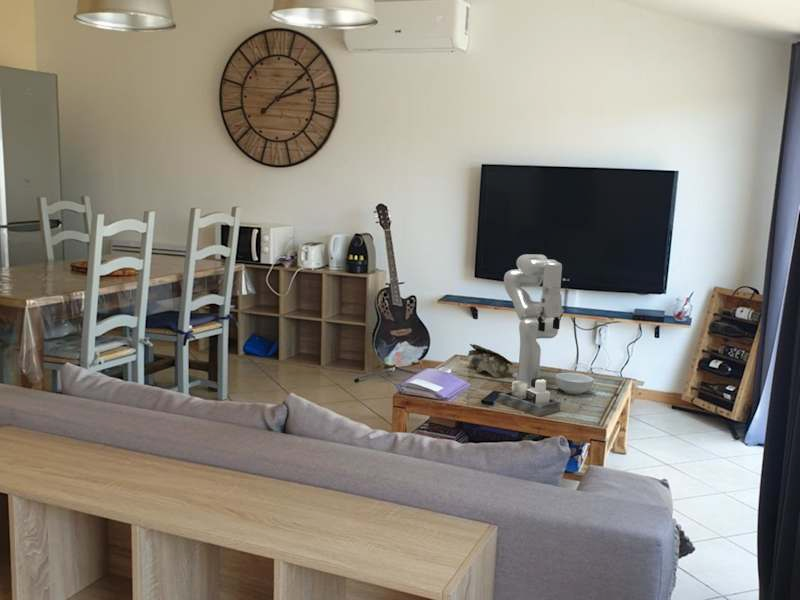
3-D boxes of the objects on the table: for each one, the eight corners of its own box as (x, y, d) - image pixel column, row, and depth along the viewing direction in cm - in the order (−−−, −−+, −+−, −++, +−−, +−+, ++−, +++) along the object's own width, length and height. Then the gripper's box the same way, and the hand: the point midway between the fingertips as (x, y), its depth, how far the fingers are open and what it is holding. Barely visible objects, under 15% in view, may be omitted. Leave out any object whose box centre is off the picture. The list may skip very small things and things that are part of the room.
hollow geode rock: (469, 374, 405) (452, 354, 399) (485, 355, 408) (469, 336, 402) (501, 386, 381) (483, 366, 374) (518, 367, 384) (500, 346, 377)
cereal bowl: (592, 398, 352) (593, 383, 351) (554, 395, 355) (555, 379, 354) (591, 388, 368) (592, 373, 367) (554, 385, 372) (555, 370, 371)
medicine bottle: (525, 405, 335) (526, 377, 333) (539, 403, 338) (541, 376, 336) (534, 410, 328) (536, 381, 326) (549, 408, 331) (551, 380, 329)
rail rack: (498, 402, 341) (499, 382, 339) (519, 397, 349) (520, 377, 348) (539, 416, 324) (540, 394, 322) (560, 410, 332) (561, 389, 331)
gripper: (544, 293, 334) (542, 333, 337) (571, 290, 345) (568, 329, 348) (531, 290, 340) (528, 330, 343) (557, 288, 351) (554, 326, 354)
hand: (548, 329), depth 346 cm, fingers open, 9 cm apart
